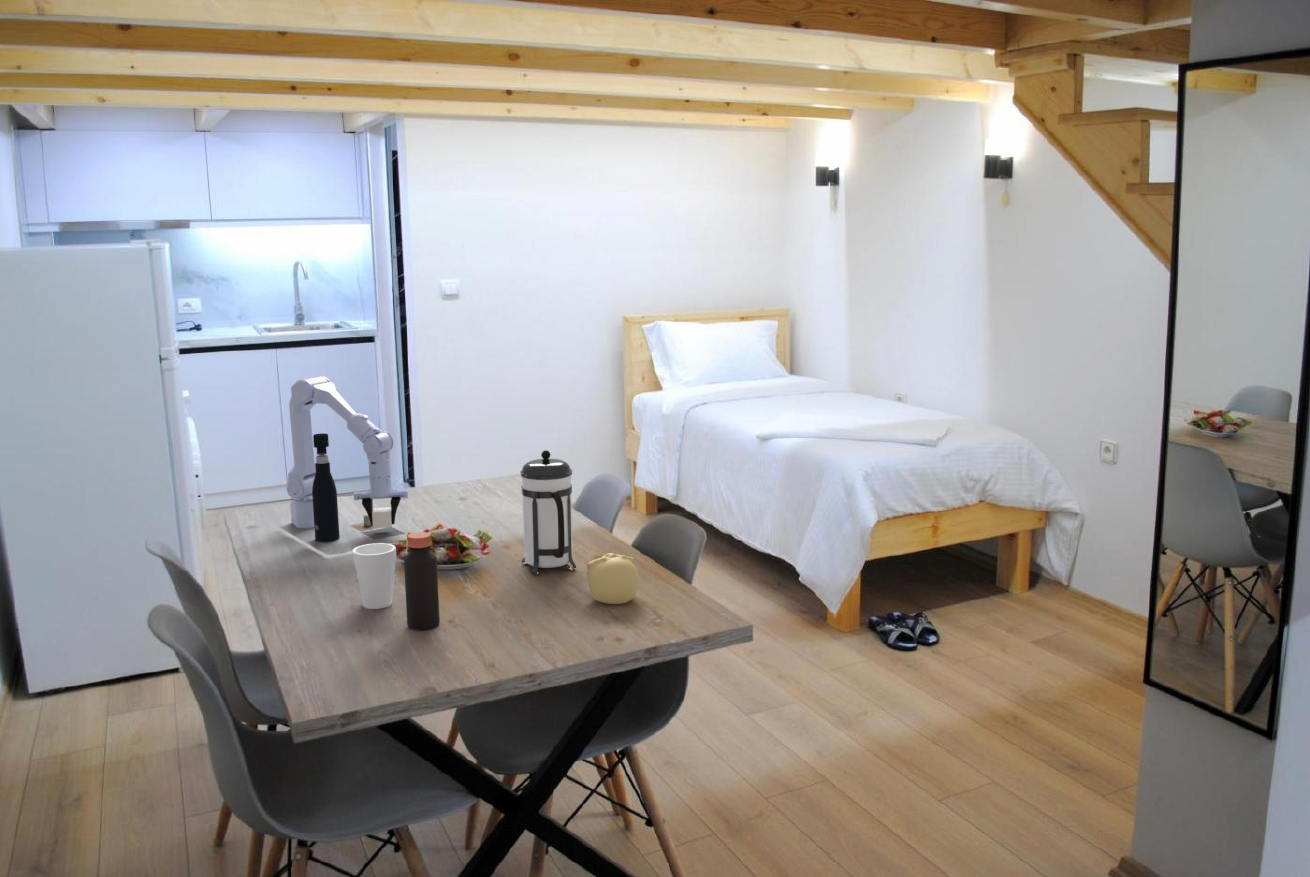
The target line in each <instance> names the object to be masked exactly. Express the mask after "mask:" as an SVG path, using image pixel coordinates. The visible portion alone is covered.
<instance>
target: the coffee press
mask: <svg viewBox="0 0 1310 877" xmlns="http://www.w3.org/2000/svg"><path fill="white" fill-rule="evenodd" d="M551 455H552V454H551V452H550V451H549V450H543V451H542V452H541V455H540V456H541V458H538V459H533V460H532V459H531V460H530V461H527V462H526V463H525V464H524V465H523V466H522V469H521V470H520V473H519V476H520V478H521V481H522V482H521V485H520V486H521V495H522V517H523V518H522V520H523V548H524V549H523V552H524V557H523V558H522V560H521V564H522V563H523V562H526V563H527V565H530V566H532V570H531V575H532V574H537V572H540V573H541V570H543V568H544V569H550V568H559V567H566V568H567V569H568V568H570V567H572V569H573V568H576V569H577V565H576V563H575V562H574V560H573V520H572V519H573V518H572V515H573V514H572V513H573V512H572V493H573V484H572V481H571V480H572V475H573V469H572V468H571V467H570V464H568V462H566V461H565V460H562V459H559V458H550V457H551ZM569 564H571V566H570V565H569Z"/></svg>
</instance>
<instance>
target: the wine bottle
mask: <svg viewBox="0 0 1310 877" xmlns="http://www.w3.org/2000/svg"><path fill="white" fill-rule="evenodd" d="M312 439H313V448H316V457H315V459H316V460H315V462H314V463H315V467H316V474H315V478H314V482H313V487H312V499H313V513H314V527H313V528H314V538H315V539H314V540H315V542H318V543H331V542H335V541H336V542H337V541H338V540H340V537H341V535H340V523H339V522H340V521H339V506H338V505H339V504H338V492H337V491H338V490H337V486H336V482H335V480H334V477H333V474H332V473H331V463H330V461H329V455H327V454H328V450H327V448H329V447H330V444H329V442H330V441H329V434H328V433H315V434H312Z"/></svg>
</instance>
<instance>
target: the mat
mask: <svg viewBox="0 0 1310 877" xmlns="http://www.w3.org/2000/svg"><path fill="white" fill-rule="evenodd" d="M360 532H361V534H364V535H366V536H368V537H369V538H372V539H373V540H378V539H382V538H383V539H384V538H388V537H389V538H390V537H393V536H394V537H395V536H399V535H405V534H406V533H405V532H404V531H401V530H399V529H397V528H395V527H394V526H392V527H387V528H376V529H370V530H365V531H360Z"/></svg>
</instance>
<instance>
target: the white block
mask: <svg viewBox="0 0 1310 877" xmlns="http://www.w3.org/2000/svg"><path fill="white" fill-rule="evenodd" d="M391 518H392V512H391V506H390V507H389V506H388V507H373V511H372V520H373V528H375V529H382V528H388V527H393V524H392V520H391Z"/></svg>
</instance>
